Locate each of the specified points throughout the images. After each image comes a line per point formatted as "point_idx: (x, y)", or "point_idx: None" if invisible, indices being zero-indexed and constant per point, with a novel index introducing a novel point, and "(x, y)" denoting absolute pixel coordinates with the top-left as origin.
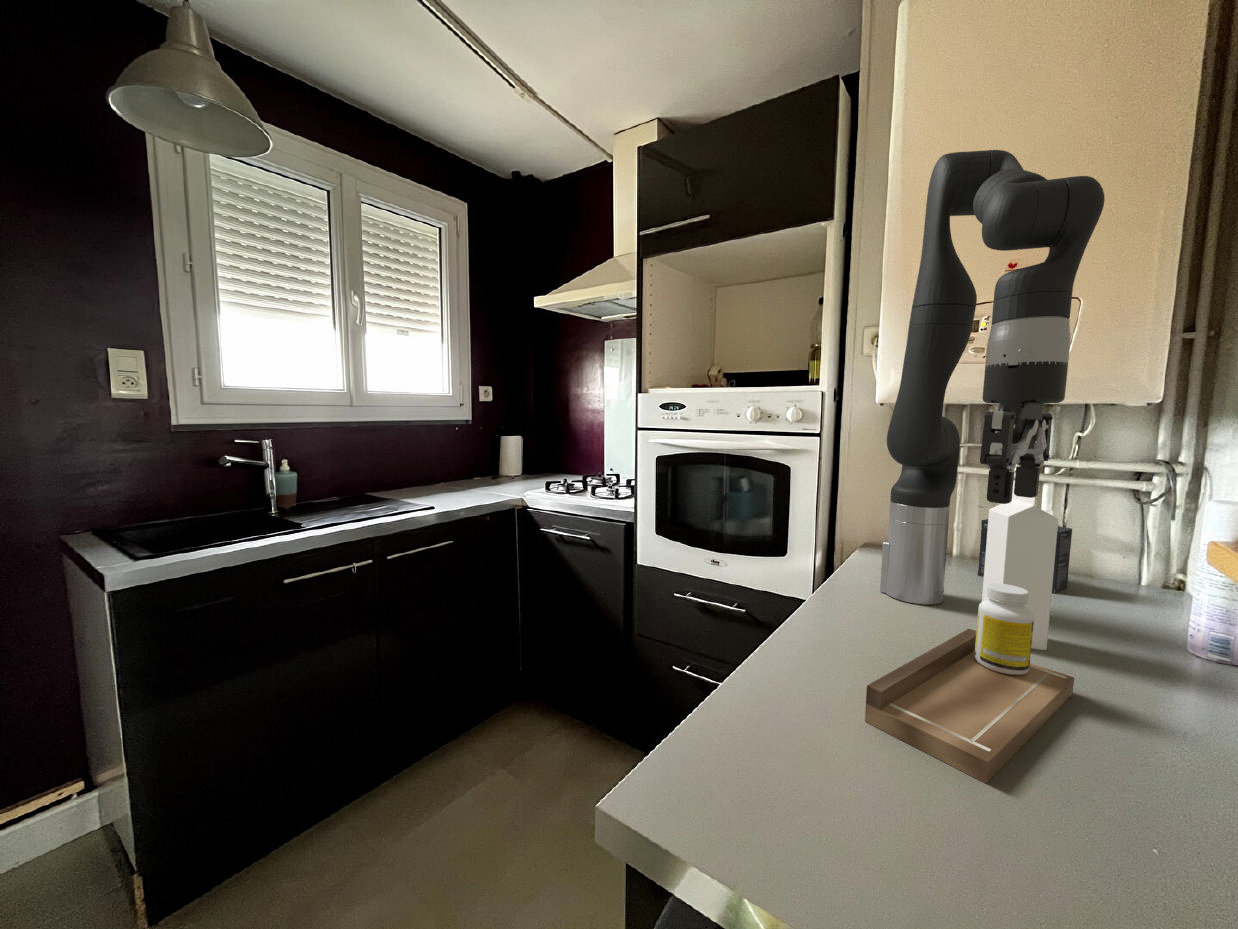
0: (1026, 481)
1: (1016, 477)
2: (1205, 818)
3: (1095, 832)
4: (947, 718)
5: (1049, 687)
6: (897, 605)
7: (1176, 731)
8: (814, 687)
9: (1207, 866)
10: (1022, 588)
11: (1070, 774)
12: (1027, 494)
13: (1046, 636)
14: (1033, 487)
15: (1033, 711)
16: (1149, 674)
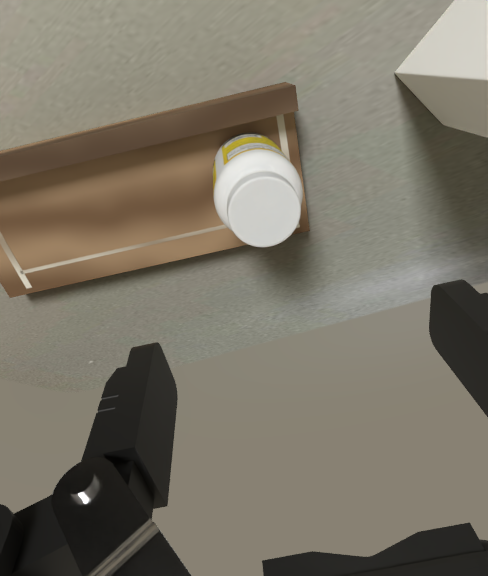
0: (467, 357)
1: (480, 334)
2: (170, 358)
3: (64, 342)
4: (30, 234)
5: None
6: None
7: (311, 301)
8: None
9: None
10: (295, 224)
11: (120, 302)
12: (436, 325)
13: (455, 128)
14: (453, 360)
15: (157, 260)
16: (467, 229)
